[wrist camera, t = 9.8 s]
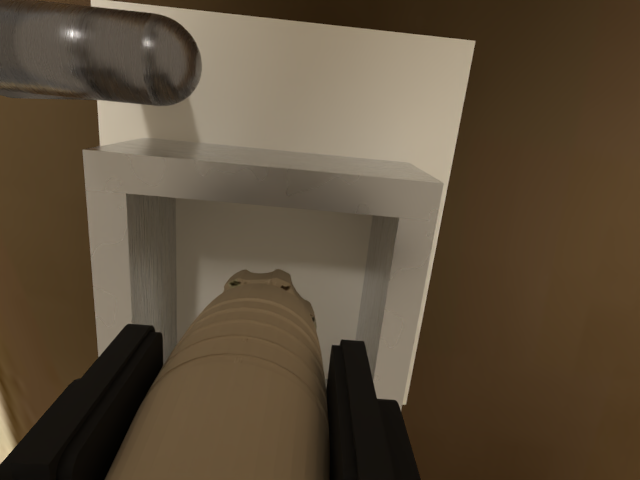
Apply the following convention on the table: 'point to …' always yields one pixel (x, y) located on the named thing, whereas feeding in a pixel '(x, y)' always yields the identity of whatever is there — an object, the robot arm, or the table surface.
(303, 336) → the handle
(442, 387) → the table surface
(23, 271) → the table surface
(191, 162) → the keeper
